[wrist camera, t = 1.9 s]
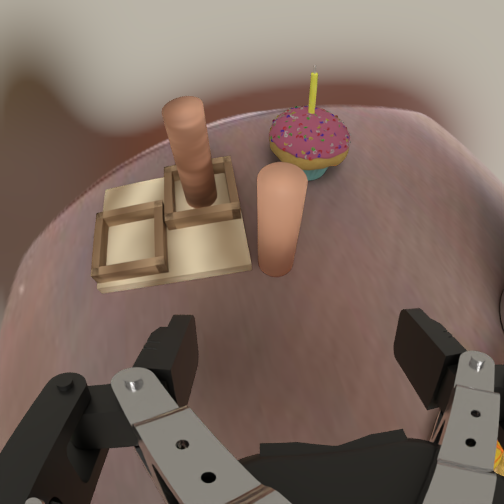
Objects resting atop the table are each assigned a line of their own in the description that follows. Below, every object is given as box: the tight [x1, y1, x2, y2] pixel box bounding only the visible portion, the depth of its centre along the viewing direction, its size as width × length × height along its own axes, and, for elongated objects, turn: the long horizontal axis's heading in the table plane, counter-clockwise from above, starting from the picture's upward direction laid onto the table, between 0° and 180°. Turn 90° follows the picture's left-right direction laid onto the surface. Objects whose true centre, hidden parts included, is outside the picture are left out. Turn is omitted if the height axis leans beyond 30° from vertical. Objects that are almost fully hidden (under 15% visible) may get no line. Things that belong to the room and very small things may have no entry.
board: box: [91, 96, 252, 294], centre depth 26 cm, size 14×12×12 cm
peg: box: [257, 162, 308, 277], centre depth 25 cm, size 3×3×11 cm
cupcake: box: [269, 65, 351, 181], centre depth 30 cm, size 9×8×12 cm
